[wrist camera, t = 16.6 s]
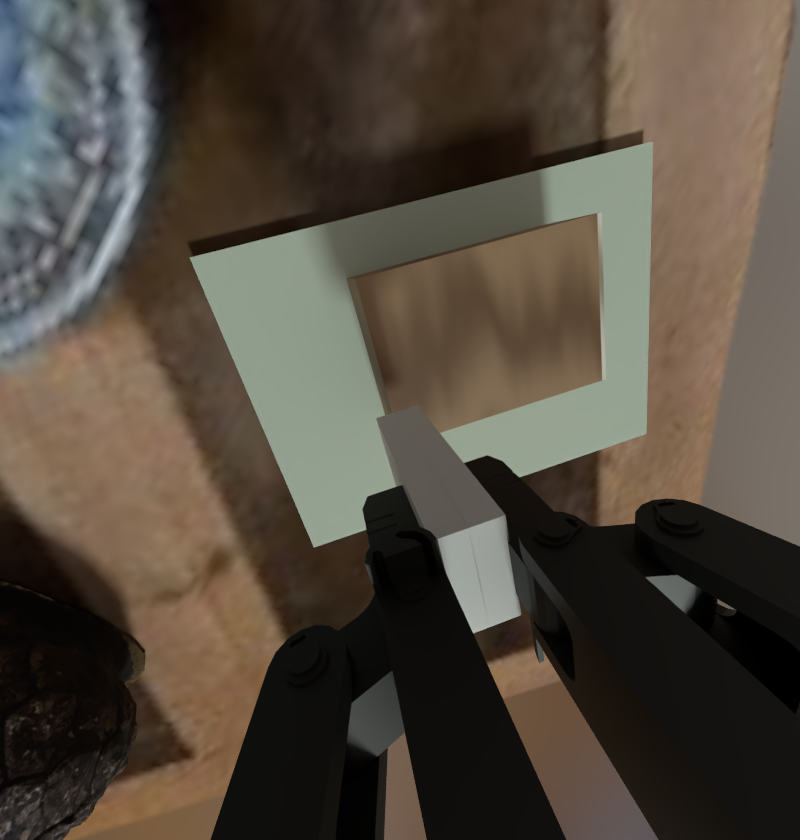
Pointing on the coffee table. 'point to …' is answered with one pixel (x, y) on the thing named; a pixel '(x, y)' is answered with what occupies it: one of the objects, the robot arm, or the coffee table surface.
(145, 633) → the coffee table surface
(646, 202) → the mat
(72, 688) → the pine cone
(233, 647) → the coffee table surface
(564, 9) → the coffee table surface
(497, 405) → the beige rectangular block
